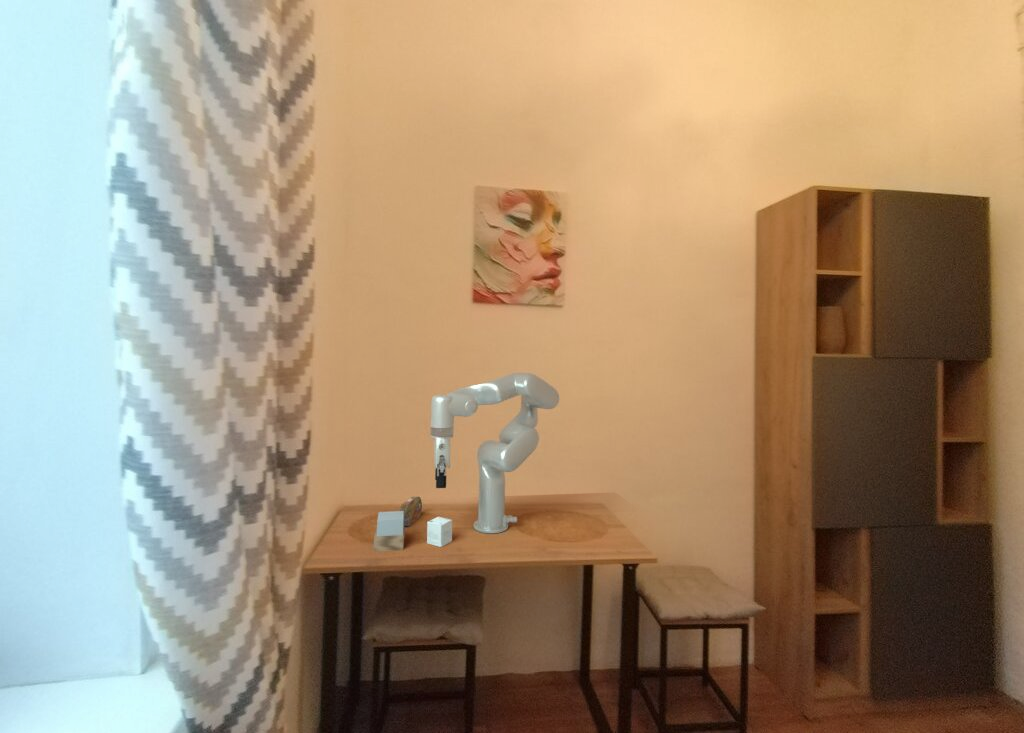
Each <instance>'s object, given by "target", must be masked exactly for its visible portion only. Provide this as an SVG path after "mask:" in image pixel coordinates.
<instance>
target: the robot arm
mask: <svg viewBox="0 0 1024 733" xmlns="http://www.w3.org/2000/svg"><path fill="white" fill-rule="evenodd" d="M517 396H520V409H519V411H518V413H517V414H516V416H514V417H513V418H512V419H511V420H510V421H509V422H508V423H507V424H506V425H504V427H503V428H502V429H501V430H500V432H499V434H498V439H499V441H497V440H491V439H490V440H486V441H483V442H482V443H481V444H479V447H478V448H477V452H476V453H477V456H476V457H477V458H476V459H477V464H478V477H479V478H478V509H477V510H478V512H477V513H478V514H477V517H478V518H477V520H475V521H474V522H473V528H474V530H476V531H477V532H479V533H484V534H498V533H502V532H505V531H506V530H508V529H509V523H517V522H518V518H517V516H513V515H509V514H508V515H506V514H505V503H506V502H505V499H506V475H505V473H511V472H514V471H515V470H517V469H518V468H519V467H520V466H521V465H522V464H523V463H524V462H525V461H526V460H527V459H528V458H529V457H530V456H531V455H532V454H533V452H535V450H536V449H537V447H538V444H539V441H540V435H539V432H538V430H537V429H536V427H537V425H538V423H539V414H538V411H539V410H538V409H544V410H554V409H555V408H556V407H557V406H558V405H559V402H560V394H559V392H558V390H557V389H556V388H555V387H554V386H553V385H552V384H549V383H548V382H547V381H545V380H544V379H543V378H541V377H539V376H538V375H536V374H533V373H525V372H514V373H509V374H507V375H505V376H502V377H500V378H496V379H494V380H493V379H492V380H491V381H487V382H482V383H478V384H474V385H470V386H465V387H462V388H458V389H456V390H454V391H451V392H448V393H447V394H435V395H433V396H432V398H431V403H430V404H431V409H430V410H431V411H430V435H429V436H430V438H433V461H434V468H435V473H434V474H435V475H434V476H435V478H434V480H435V488H436V489H446V487H447V474H446V473H447V470H446V469H450V468H451V439H452V438H454V428H455V427H454V426H455V425H454V424H455V423H454V422H455V417H464V418H468V417H472V416H474V415H475V414H476V413H477V411H478V408H479V406H490V405H491V406H493V405H497V404H500V403H503V402H504V401H507V400H508V401H509V400H510V399H512V398H515V397H517Z"/></svg>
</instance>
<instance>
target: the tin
mask: <svg viewBox="0 0 1024 733" xmlns="http://www.w3.org/2000/svg"><path fill="white" fill-rule="evenodd" d="M422 504H423V503H422V499H421V497H420V496H412V497H409V499H408V500H406V501H405V502H403V503H402V504H401V506H400V508H399V511H404V518H403V525H405V527H411V526H412V525H413V524H414V523H415V522H416V521H418V520H419V519H420V516H421V514H422V509H423V508H422V506H423V505H422ZM410 525H411V526H410Z"/></svg>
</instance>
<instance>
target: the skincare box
mask: <svg viewBox="0 0 1024 733" xmlns="http://www.w3.org/2000/svg"><path fill="white" fill-rule="evenodd" d="M426 523H427V524H426V526H427V528H426V539H427V540H426V543H427V544H428V545H432V546H436V547H439V548H442V547H444V546H446V545H448V544H449V543H452V541H453V520H452V519H449V518H447V517H446V518H445V517H441V516H437V517H434V518H433V519H430V520H428V521H427V522H426Z"/></svg>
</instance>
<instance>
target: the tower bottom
mask: <svg viewBox="0 0 1024 733" xmlns="http://www.w3.org/2000/svg"><path fill="white" fill-rule="evenodd" d="M405 527H406V526H405V525H403V535H393V536H377V527H376V528H375V532H374V535H373V552H374V551H375V552H388V551H387V550H393V551H404V545H405Z"/></svg>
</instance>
